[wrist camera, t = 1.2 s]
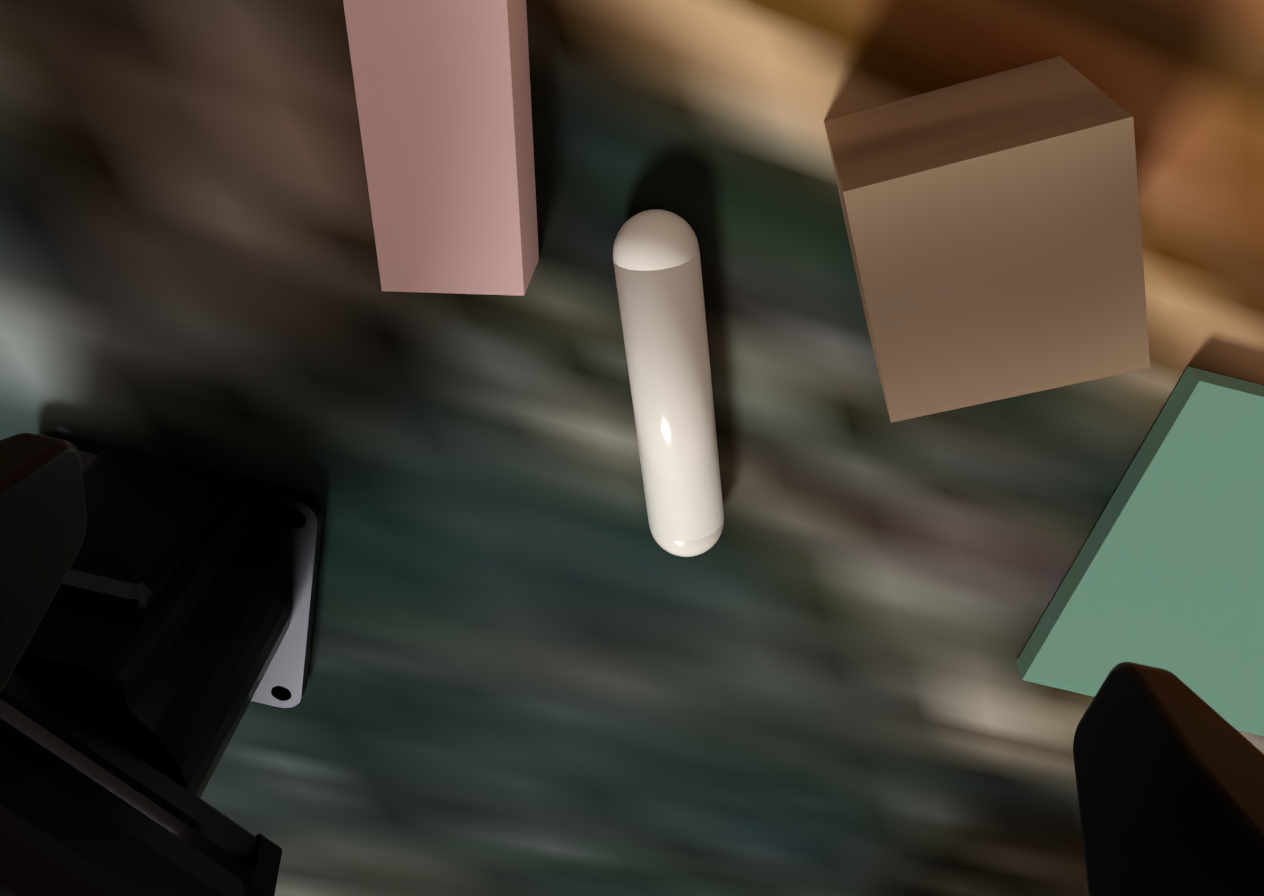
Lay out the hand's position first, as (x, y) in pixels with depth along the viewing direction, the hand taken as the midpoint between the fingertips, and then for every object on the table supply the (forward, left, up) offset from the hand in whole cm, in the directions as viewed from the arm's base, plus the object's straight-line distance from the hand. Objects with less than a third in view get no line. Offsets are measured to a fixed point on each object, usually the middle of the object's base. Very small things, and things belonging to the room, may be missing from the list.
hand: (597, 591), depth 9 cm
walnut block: (+1, -5, -12) cm, 13 cm away
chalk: (-4, -1, -12) cm, 13 cm away
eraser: (0, +4, -13) cm, 13 cm away
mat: (-5, -15, -12) cm, 20 cm away
